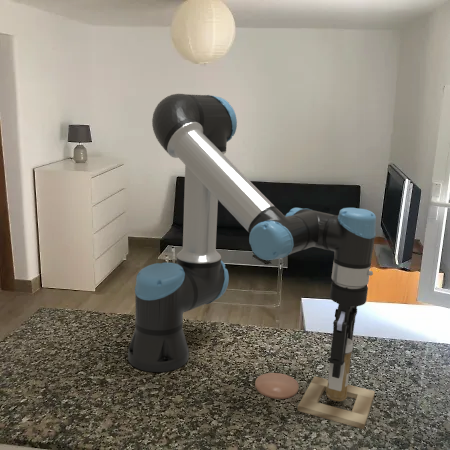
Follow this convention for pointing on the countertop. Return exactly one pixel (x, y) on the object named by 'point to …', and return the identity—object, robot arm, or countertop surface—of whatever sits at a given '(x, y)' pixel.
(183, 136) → the robot arm
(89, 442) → the countertop surface
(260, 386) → the coaster
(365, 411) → the collar board
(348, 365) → the sprinkles bottle
